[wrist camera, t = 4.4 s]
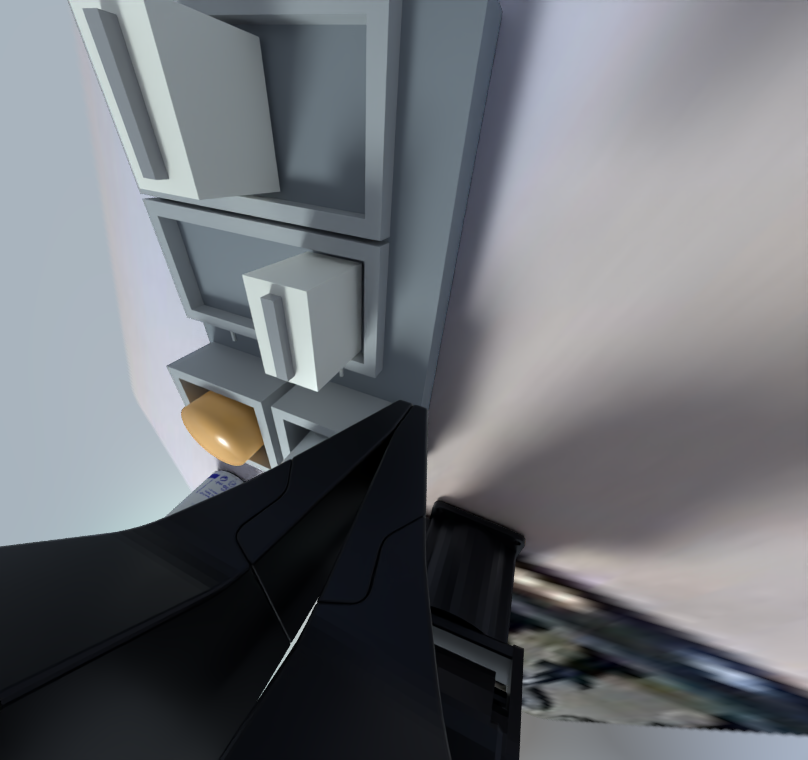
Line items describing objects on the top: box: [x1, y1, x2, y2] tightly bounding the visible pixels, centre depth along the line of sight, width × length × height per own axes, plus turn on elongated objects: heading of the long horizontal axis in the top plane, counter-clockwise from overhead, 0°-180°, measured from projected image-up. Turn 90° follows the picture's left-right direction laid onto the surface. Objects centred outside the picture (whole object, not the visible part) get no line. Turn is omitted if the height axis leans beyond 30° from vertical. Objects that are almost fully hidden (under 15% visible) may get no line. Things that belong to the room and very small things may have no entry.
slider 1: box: [69, 0, 280, 200], centre depth 9 cm, size 2×4×4 cm, turn 174°
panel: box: [68, 0, 502, 472], centre depth 15 cm, size 14×20×5 cm
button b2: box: [181, 391, 264, 466], centre depth 18 cm, size 4×4×3 cm
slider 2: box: [242, 251, 362, 392], centre depth 12 cm, size 2×4×4 cm, turn 175°
